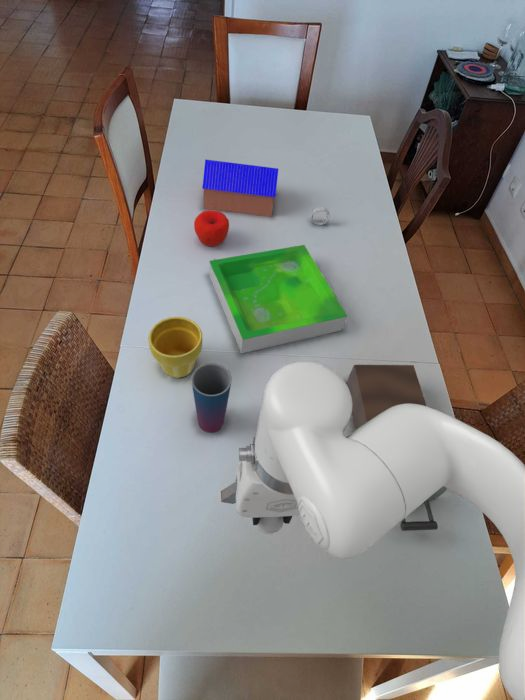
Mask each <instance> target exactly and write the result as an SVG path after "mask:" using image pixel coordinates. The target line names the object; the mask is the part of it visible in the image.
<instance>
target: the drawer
mask: <svg viewBox="0 0 525 700" xmlns="http://www.w3.org/2000/svg"><path fill="white" fill-rule="evenodd" d="M447 491H448V488H446V487H444V486H443V487H441V488H440V489H439V490H438V491H436V492H435V493H434V494H433V495H432V496H430V497H429V498H428V499H427V500H426V501H424V502H423V503H424V506H425V510H426V514H427V517H428V520H423V521H422V520H421V521H417V520H416V521H406V517H405V518H404V519H403V520H402V521H400V522H399V524H400V525H399V526H400V530H401V531H402V532H408V531H409V532H412V531H415V532H416V531H437V530H438V527H439V526H438V522H437V521H436V520H434V516H433V511H432V508H431V504H430V502H429V501H436V500H437V499H438V498H439V497H440V496H442V495H443V494H444V493H445V492H447Z"/></svg>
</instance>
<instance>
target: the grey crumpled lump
mask: <svg viewBox="0 0 525 700" xmlns="http://www.w3.org/2000/svg"><path fill="white" fill-rule="evenodd" d="M318 212H319V213H320V212H325V213H326V218H325V219H324V220H321V221H317V220H315V219H314V214H315V213H318ZM310 219H311V223H313V224H314V225H316V226H323V225H326V224H327V223H329V221H330V212H329V210H328V208H326V207H318V208H315V209H312V211H311V214H310Z"/></svg>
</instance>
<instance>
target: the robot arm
mask: <svg viewBox="0 0 525 700" xmlns="http://www.w3.org/2000/svg"><path fill="white" fill-rule="evenodd" d="M258 416H259V417H258V422H257V428H256V433H255V436H253V438H252V439H253V441H252V443H249V445H247V446H246V447H238V462H239V463H238V466H237V469H236V472H235V481H234V482H233V483H232V484H229V485H228V486H227V487H225V488H223V489H222V490H220V502H221V503H225V504H231V505H234V504H235V507H236V513H237V514H238V515H239V516H241V517H243V518H250V519H252V518H253V521H252V526H254V525H257V524H259V521H260V518H261V517H282V516H283V522H284V523H283V524H286V525H287V524H290V523H291V520H292V518H293V517H296V516H299V517H300V519H301V522H302V525H303V527H304V529H305V530H306V532H307V533H308V535H309V537H310V538H311V540H313V541H314V543H315V544H316V545H317V546H318V547H320V548H322V549H323V550H324V551H325V552H326V553H327V554H329V555H330V556H332V557H334V558H335V559H340V560H350V559H353V558H355V557H358V556H360V555H361V554H362V553H364V552H365V551H366V550H368V549H370V548H371V547H372V546H373V545H374V544H375V543H376V542H378V541H379V540H380V539H381V538H383V537H384V536H385V535H386V534H387V533H389V532H390V531H391V530H393V528H394V527H396V526H397V525H398V524H400V523H401V521H402V520H403V519H404V518H405V519H406V517H408V516H409V515H410V514H412V512H414V511H415V510H416V509H417V508H419V507H420V506H421V505H422V504H423V503H424V501H426V500H427V499H428V498H429V497H430V496H432V495H433V494H434V493H435V492H436V491H438V490H439V489H440V488H441V487H443V486H444V487H446V488H447V490H449V491H451V492H453V493H455V494H456V495H458V496H460V497H461V498H462V499H464V500H465V501H467V502H468V503H470V504H471V505H472V506H474V507H475V508H477V509H478V511H480V512H481V513H483V514H484V515H485V516H486V517H487V519H489V520H490V521H491V522H492V523H493V524H494V526H495V528H496V529H497V530H498V532H500V534H501V535H502V537H503V540H504V541H505V542H506V544H507V546H508V549H509V552H510V555H511V558H512V561H513V567H514V575H515V577H514V586H513V590H512V594H511V599H510V601H509V602H510V603H509V606H508V609H507V613H506V617H505V622H504V625H503V629H502V633H501V637H500V642H499V650H498V671H499V677H500V679H501V683H502V685H503V687H504V688H505V690H506V691H507V693H508V695H509V696H510V697H511V698H512V699H513V700H525V464H524V463H523V461H521V460H520V459H519V458H518V456H516V454H514V453H513V452H512V451H511V450H509V449H508V448H507V447H506V446H505V445H503V444H502V443H501V442H500V441H498V440H496V439H495V438H493V437H492V436H489V435H488V434H486V433H484V432H482V431H481V430H478V429H476V428H475V427H473V426H471V425H469V424H467V423H465V422H463V421H461V420H460V419H457V418H455V417H453V416H451V415H449V414H447V413H445V412H443V411H440V410H438V409H435V408H433V407H429V406H427V405H426V406H424V405H419V404H411V403H409V404H400V405H396V406H393V407H391V408H389V409H387V410H386V411H384V412H382V413H381V414H379V415H378V416H376V417H374V418H373V419H371V420H370V421H368V422H367V423H365V424H364V425H362V426H361V427H360V428H358V429H357V430H355V429H354V430H353V431H352V432H351V433H349V434H348V435H347V436H345V431H346V429H347V427H348V425H349V422H350V419H351V417H352V397H351V394H350V390H349V388H348V386H347V384H346V381H345V379H343V378H342V376H340V375H339V374H338V373H337V372H336V371H335V370H334V369H332V368H330V367H329V366H327V365H324V364H323V363H319V362H316V361H307V360H306V361H302V360H301V361H294V362H291V363H288V364H286V365H284V366H282V367H280V368H279V369H278V370H276V372H274V373H273V374H272V376H271V377H270V378H269V380H268V381H267V383H266V386H265V388H264V392H263V395H262V401H261V406H260V412H259V415H258Z"/></svg>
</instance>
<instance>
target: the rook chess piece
mask: <svg viewBox="0 0 525 700" xmlns="http://www.w3.org/2000/svg"><path fill="white" fill-rule="evenodd" d="M251 520H252V522H253V518H251ZM284 524H285V523H284V522H283V516H282V517H261V518H260V521H259V524H257V525H253V526H254V527H255V528H256V530H257V531H258V532H259V533H262V534H265V535H273V534H276V533H278V532H279V531H280V530H281V529H282V527H283V525H284Z"/></svg>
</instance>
